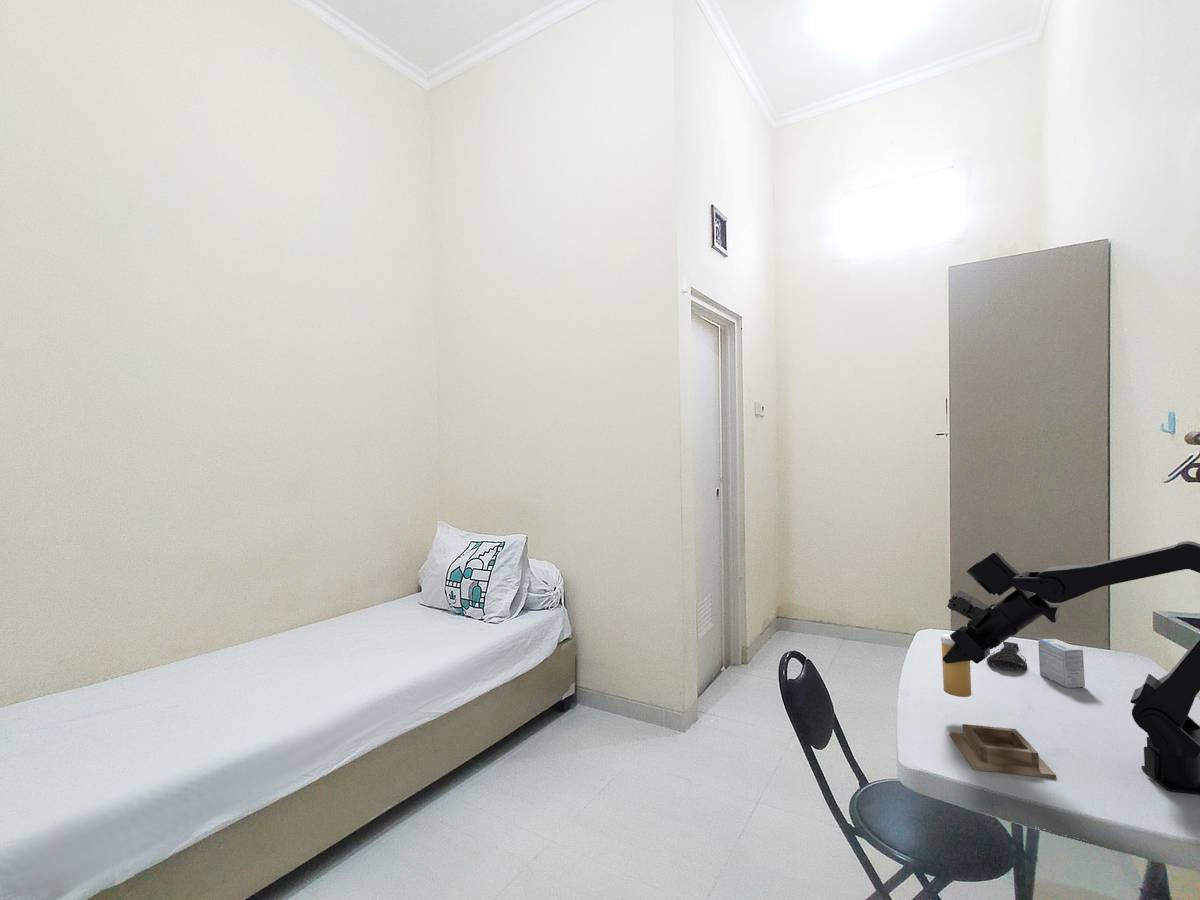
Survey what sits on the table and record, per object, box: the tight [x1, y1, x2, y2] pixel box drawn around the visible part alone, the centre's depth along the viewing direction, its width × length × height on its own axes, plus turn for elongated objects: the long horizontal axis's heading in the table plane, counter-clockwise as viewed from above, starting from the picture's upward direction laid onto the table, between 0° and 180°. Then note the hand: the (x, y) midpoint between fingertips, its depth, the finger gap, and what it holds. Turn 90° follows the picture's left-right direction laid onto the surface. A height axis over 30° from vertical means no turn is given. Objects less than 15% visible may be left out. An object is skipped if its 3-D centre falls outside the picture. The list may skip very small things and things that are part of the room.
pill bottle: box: [940, 633, 972, 698], centre depth 113 cm, size 5×5×11 cm
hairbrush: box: [986, 641, 1028, 670], centre depth 145 cm, size 8×4×25 cm
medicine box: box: [1037, 638, 1086, 689], centre depth 129 cm, size 8×4×9 cm, turn 179°
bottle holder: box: [949, 723, 1057, 779], centre depth 99 cm, size 12×12×3 cm
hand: (948, 657), depth 114 cm, fingers closed on pill bottle, 5 cm apart
